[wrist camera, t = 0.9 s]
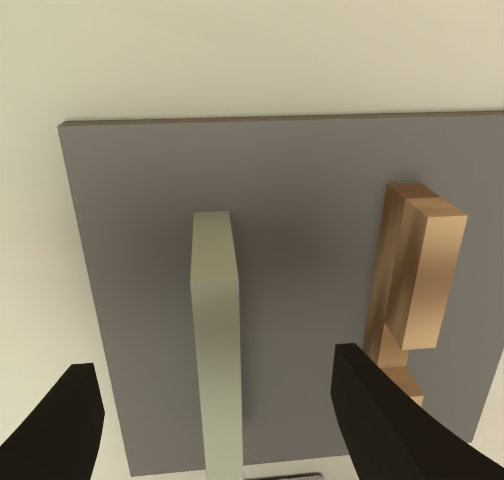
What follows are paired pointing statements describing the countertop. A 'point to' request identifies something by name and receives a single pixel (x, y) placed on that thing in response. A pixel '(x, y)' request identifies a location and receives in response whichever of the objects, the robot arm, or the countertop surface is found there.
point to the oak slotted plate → (411, 278)
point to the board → (279, 266)
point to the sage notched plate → (217, 343)
